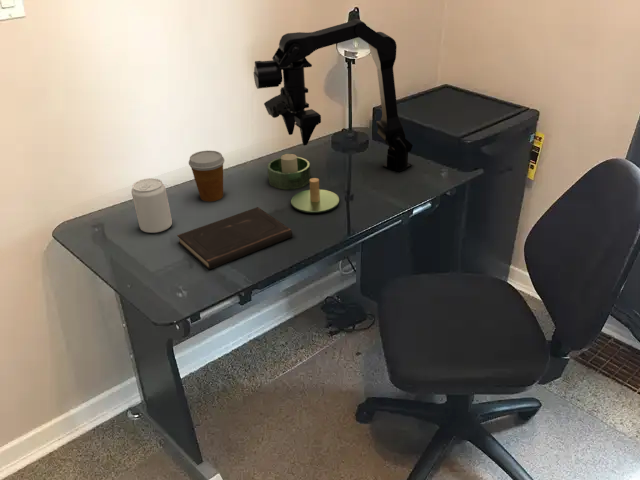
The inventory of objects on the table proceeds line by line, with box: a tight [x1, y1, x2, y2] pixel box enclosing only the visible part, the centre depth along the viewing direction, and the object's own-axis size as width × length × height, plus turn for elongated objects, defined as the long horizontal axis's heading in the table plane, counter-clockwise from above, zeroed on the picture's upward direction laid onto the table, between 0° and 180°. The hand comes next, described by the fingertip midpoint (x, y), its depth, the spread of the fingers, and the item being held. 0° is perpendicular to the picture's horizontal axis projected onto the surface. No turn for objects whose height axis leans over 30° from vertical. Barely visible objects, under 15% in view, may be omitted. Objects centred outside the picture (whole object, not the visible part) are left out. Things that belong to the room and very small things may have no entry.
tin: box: [266, 156, 312, 191], centre depth 179 cm, size 12×12×5 cm
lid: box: [290, 177, 340, 214], centre depth 166 cm, size 13×13×7 cm
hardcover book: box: [177, 206, 293, 270], centre depth 151 cm, size 16×23×2 cm
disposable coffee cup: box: [188, 150, 225, 202], centre depth 168 cm, size 10×10×12 cm
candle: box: [280, 153, 298, 173], centre depth 178 cm, size 5×5×7 cm
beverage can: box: [131, 177, 173, 234], centre depth 154 cm, size 8×8×12 cm
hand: (297, 139), depth 172 cm, fingers open, 9 cm apart
